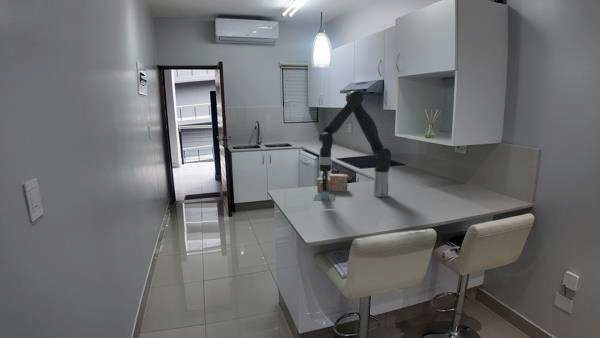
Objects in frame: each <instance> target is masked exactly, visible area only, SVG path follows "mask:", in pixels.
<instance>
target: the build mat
mask: <svg viewBox="0 0 600 338" xmlns="http://www.w3.org/2000/svg"><path fill="white" fill-rule="evenodd" d="M336 198H337V196H336V195H333V194H332V195H330V194H329V199H321V194H315V195H314V197H313V199H312V201H313V202H330V203H331V202H333V203H335V202H336Z"/></svg>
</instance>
